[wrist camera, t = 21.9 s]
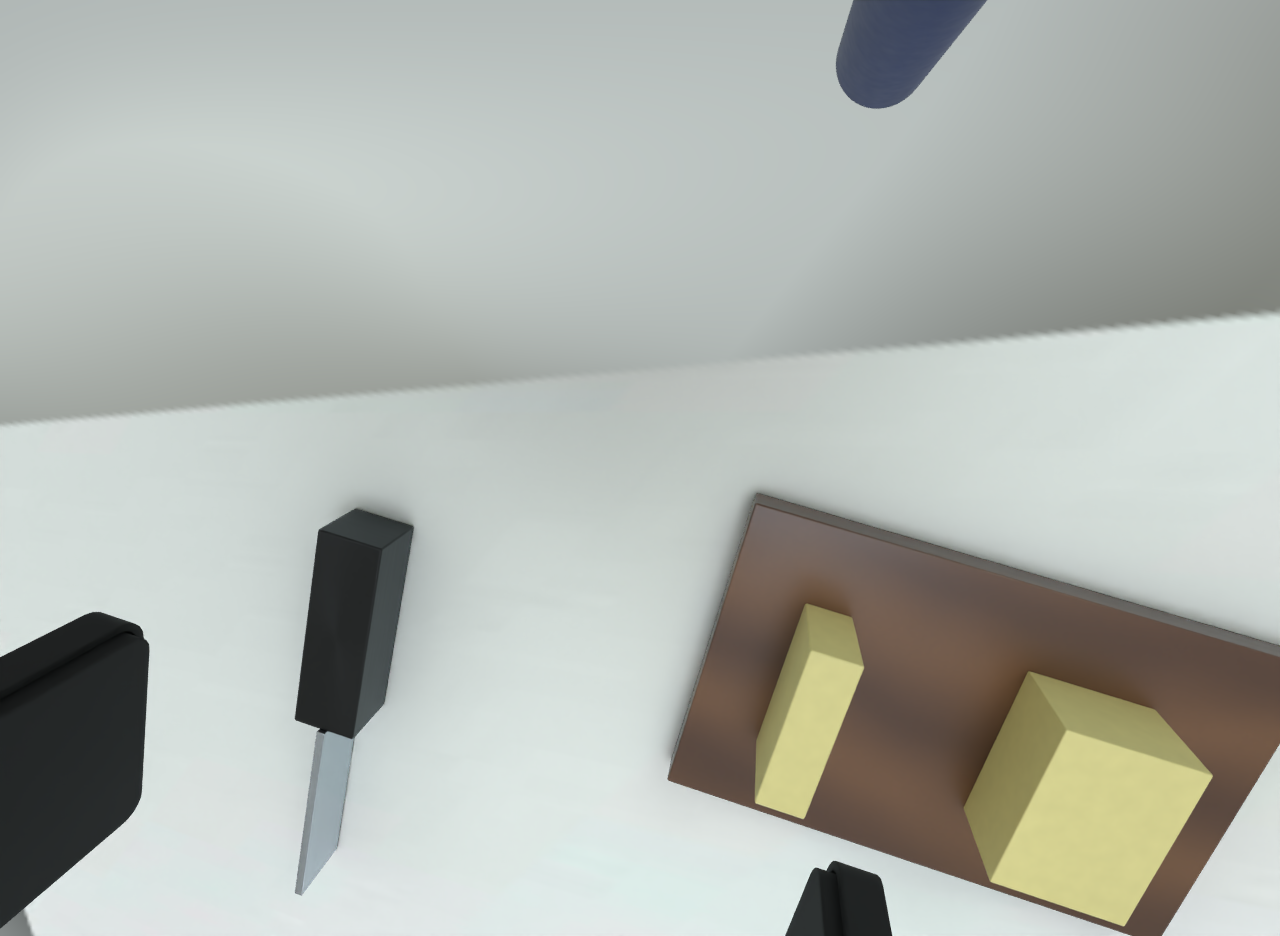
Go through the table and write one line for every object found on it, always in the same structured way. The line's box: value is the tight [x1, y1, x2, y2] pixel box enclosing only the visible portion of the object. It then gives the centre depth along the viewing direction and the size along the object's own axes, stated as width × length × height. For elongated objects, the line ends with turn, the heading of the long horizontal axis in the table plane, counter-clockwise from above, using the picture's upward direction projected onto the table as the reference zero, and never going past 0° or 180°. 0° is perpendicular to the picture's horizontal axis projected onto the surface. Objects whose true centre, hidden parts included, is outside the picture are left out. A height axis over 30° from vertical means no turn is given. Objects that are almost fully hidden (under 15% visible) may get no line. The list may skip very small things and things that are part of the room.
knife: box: [295, 509, 413, 895], centre depth 35 cm, size 20×3×3 cm, turn 166°
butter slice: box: [755, 604, 864, 819], centre depth 29 cm, size 7×2×4 cm, turn 166°
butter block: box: [964, 671, 1213, 926], centre depth 28 cm, size 7×5×4 cm
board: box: [668, 493, 1280, 936], centre depth 31 cm, size 14×22×2 cm, turn 76°
